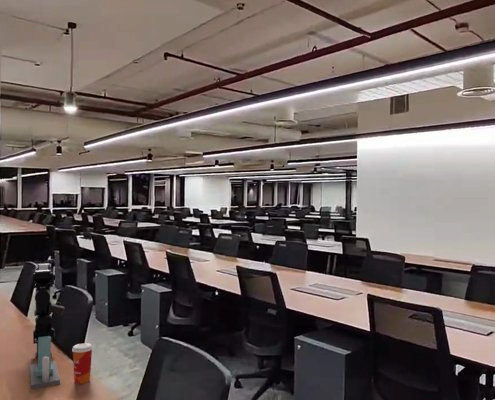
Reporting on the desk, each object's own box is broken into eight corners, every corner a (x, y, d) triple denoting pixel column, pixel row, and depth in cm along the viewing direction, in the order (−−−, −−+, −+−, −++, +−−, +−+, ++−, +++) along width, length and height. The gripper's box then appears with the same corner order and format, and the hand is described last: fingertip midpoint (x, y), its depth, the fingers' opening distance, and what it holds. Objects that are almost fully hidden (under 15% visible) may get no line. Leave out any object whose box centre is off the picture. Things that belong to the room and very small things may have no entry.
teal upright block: (36, 372, 178) (36, 337, 178) (52, 369, 181) (52, 335, 181) (36, 380, 170) (37, 344, 170) (53, 377, 173) (54, 341, 173)
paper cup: (72, 379, 176) (72, 343, 176) (92, 376, 179) (92, 341, 179) (71, 386, 169) (71, 350, 169) (92, 383, 171) (93, 347, 171)
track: (29, 368, 187) (29, 343, 187) (55, 364, 192) (55, 340, 192) (31, 388, 167) (31, 360, 167) (60, 383, 171) (60, 356, 171)
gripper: (65, 301, 185) (65, 339, 185) (61, 293, 202) (61, 327, 202) (35, 304, 180) (35, 342, 180) (34, 296, 197) (34, 331, 197)
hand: (42, 335), depth 190 cm, fingers closed
